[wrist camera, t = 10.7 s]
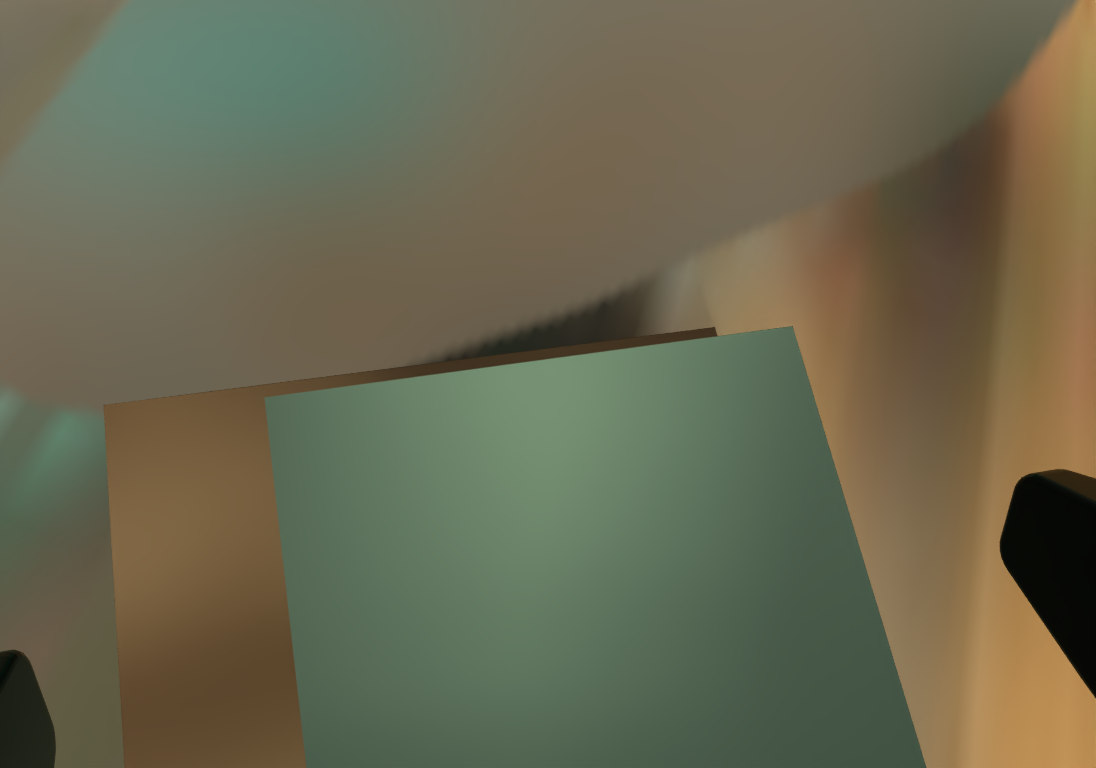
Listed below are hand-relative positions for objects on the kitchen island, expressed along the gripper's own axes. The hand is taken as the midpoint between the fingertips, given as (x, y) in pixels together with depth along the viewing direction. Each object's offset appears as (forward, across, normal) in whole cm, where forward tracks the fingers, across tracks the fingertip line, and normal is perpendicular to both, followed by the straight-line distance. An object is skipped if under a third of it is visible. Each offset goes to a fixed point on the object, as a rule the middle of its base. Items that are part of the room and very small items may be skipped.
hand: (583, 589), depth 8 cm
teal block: (+6, 0, +6) cm, 9 cm away
